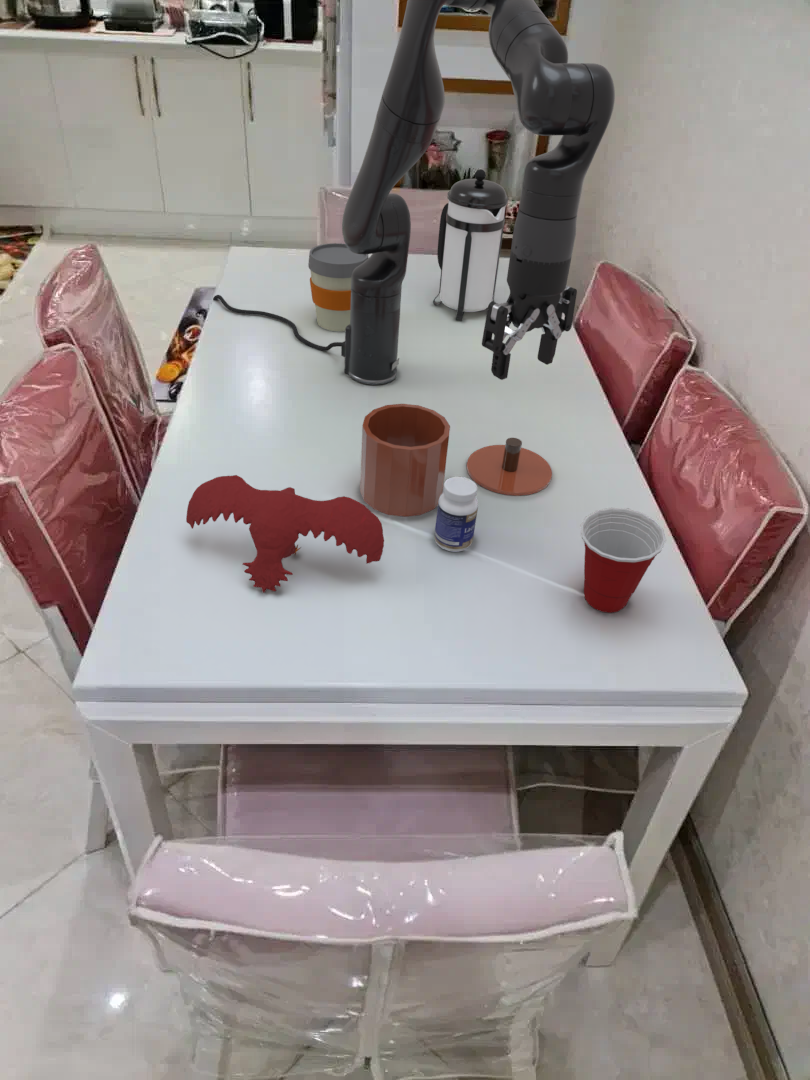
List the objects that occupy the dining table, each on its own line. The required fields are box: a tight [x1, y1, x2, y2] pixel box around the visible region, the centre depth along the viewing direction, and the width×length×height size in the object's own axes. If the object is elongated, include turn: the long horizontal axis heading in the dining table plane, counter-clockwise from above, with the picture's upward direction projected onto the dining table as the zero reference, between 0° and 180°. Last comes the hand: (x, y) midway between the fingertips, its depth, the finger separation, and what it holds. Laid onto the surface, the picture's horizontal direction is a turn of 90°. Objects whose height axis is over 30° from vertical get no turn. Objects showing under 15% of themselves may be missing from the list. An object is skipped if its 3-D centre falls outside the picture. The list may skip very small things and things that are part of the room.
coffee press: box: [432, 168, 509, 322], centre depth 176 cm, size 17×16×30 cm
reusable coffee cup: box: [307, 242, 369, 333], centre depth 170 cm, size 13×13×15 cm
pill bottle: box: [433, 476, 479, 553], centre depth 116 cm, size 6×6×10 cm
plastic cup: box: [579, 507, 667, 614], centre depth 107 cm, size 11×11×12 cm
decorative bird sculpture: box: [185, 474, 385, 594], centre depth 110 cm, size 28×9×15 cm
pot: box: [359, 403, 451, 518], centre depth 123 cm, size 13×13×12 cm
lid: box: [466, 437, 553, 497], centre depth 132 cm, size 14×14×6 cm
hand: (522, 369), depth 110 cm, fingers open, 8 cm apart
